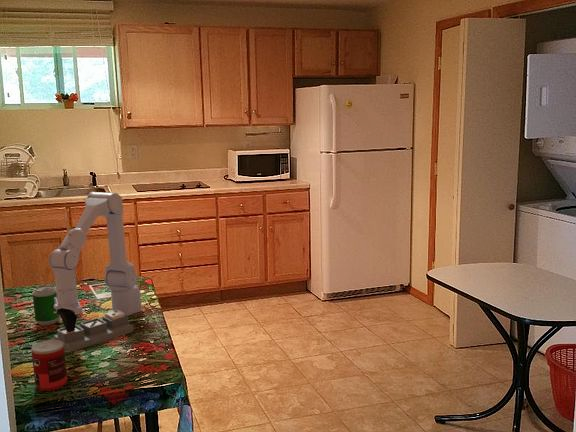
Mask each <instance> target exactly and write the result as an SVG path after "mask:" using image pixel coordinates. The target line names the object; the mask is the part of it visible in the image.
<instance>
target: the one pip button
mask: <svg viewBox="0 0 576 432" xmlns="http://www.w3.org/2000/svg"><path fill="white" fill-rule="evenodd" d="M76 331H79V330H78V329H76V328H75V330H74V331H71V332H67V331H66V330H63V331H61V332H63V333H65V334H69V333H72V332H76Z"/></svg>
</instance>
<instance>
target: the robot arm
mask: <svg viewBox="0 0 576 432" xmlns="http://www.w3.org/2000/svg"><path fill="white" fill-rule="evenodd" d="M123 205H124V203H123V197H122V196H121V195H120V194H119V193H117V192H99V191H98V192H96V191H90V192H89V193H88V195H87V197H86V199H84V206H85V207H84V210H83V212H82V214H81V216H80V218H79V220H78V223H77V224H76V227H75V228H71V229H69V230H68V232H67V234H66V236H65V237H64V239H63V240H62V242H61V243H60V245H59V247H58V248H56V249H54V250H53V251H51V253H50V254H49V255H50V256H49V260H48V264H49V266H50V267H51V269H52V273H53V274H54V280H55V288H56V292H57V297H54V300H55V305H54V307H55V308H59V309H58V310H57V312H58V314H59V318H61V321H62V323H63V327H65V329H66V331H67V332H71V331H74V330H75V325H77V324H76V323H77V319H78V317H79V315H81V314H83V307H82V305H81V304H80V302H79V299H78V290H77V280H76V279H77V277H76V267H77V265H78V264H79V258H80V253H81V252H80V251H81V250H82V248H83V246H85V243H86V242H87V240H88V237H87V232H88V231H89V230H90V228H91V227H92V226H93V224H94V222H95V221H97V218H98V217H101V216H102V217H104V218H105V219H106V229H107V239H108V248H109V250H108V251H109V260H110V263H108V264H107V265H106V266H105V269H104V270H105V271H104V283H106V284H105V286H107V287H108V289H109V290H110V292H111V297H112V298H111V307H112V308H111V309H110V310H108V311H107V313H108V312H112V311H115V310H119V311H121V312H123V313H125V315H128V316H130V315H134V314H137V313H139V312H140V313H141V312H143V310H144V309H143V308H142V298H141V297H142V296H141V290H140V288H139V286H137V281H138V275H137V272H136V269H135V265H134V264H133V263H131V262H130V261H128V259H127V250H126V240H125V239H126V238H125V229H124V228H125V226H124V216H123V214H124V206H123Z"/></svg>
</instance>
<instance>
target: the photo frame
mask: <svg viewBox="0 0 576 432" xmlns="http://www.w3.org/2000/svg"><path fill="white" fill-rule="evenodd" d="M103 285H106V283H105V282H103V283H96V284H89V286H88V287H89V289H90V291H91V293H92V294H93V295H94V297H95V299H96V300H97V301H100V300H101V301H102V300H106V299H112V297H111V291H110V292H103V293H96V291H95V290H94V288H93V287H95V286H103Z"/></svg>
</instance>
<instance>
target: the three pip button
mask: <svg viewBox="0 0 576 432" xmlns="http://www.w3.org/2000/svg"><path fill="white" fill-rule="evenodd" d="M99 324H102V323H101V322H99V321H93V322H90V323H87V324H85V325H87V326H88V327H92V326H95V325H99Z"/></svg>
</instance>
